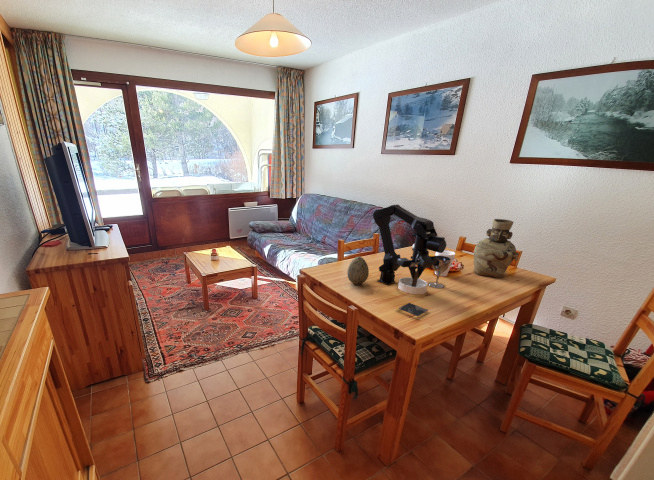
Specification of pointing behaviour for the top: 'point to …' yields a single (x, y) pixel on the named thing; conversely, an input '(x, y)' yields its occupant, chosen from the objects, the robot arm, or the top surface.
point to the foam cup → (447, 254)
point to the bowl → (406, 286)
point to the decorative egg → (358, 271)
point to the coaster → (413, 309)
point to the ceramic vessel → (495, 250)
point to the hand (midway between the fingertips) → (415, 278)
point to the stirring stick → (415, 279)
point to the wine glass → (440, 269)
